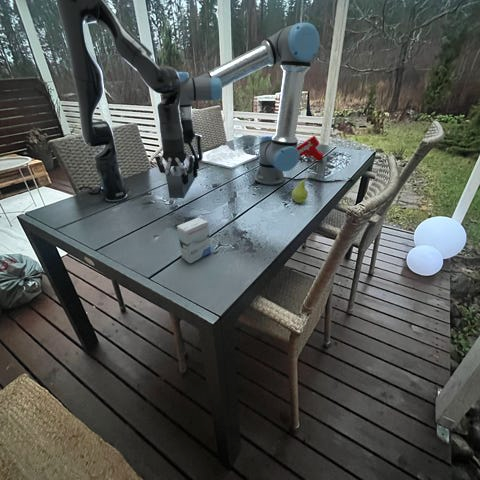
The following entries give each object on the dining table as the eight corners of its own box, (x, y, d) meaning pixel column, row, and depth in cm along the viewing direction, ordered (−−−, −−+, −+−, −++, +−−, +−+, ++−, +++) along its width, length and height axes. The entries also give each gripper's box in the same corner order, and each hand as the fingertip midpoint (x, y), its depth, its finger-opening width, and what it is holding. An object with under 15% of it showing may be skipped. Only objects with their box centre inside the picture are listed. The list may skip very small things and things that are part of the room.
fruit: (288, 200, 123) (290, 174, 116) (302, 197, 125) (305, 172, 119) (296, 206, 118) (299, 179, 111) (310, 203, 120) (314, 177, 114)
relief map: (231, 168, 161) (231, 160, 158) (189, 159, 179) (189, 151, 176) (257, 158, 179) (257, 150, 176) (217, 150, 197) (216, 142, 194)
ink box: (202, 246, 92) (199, 215, 85) (211, 252, 89) (209, 221, 82) (180, 257, 87) (176, 225, 80) (190, 264, 84) (185, 231, 77)
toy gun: (327, 155, 171) (314, 135, 167) (326, 157, 167) (314, 136, 164) (302, 170, 181) (290, 151, 177) (301, 172, 177) (288, 153, 174)
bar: (185, 174, 122) (183, 155, 117) (197, 174, 122) (195, 155, 117) (169, 198, 100) (166, 175, 95) (184, 198, 100) (181, 175, 95)
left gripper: (147, 138, 89) (156, 187, 99) (190, 139, 89) (195, 187, 98) (154, 133, 96) (162, 179, 105) (195, 134, 95) (199, 180, 104)
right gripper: (156, 120, 103) (165, 179, 115) (204, 120, 102) (209, 179, 114) (162, 117, 109) (170, 173, 121) (207, 117, 108) (211, 173, 120)
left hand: (178, 183), depth 101 cm, fingers closed on bar, 5 cm apart
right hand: (189, 176), depth 118 cm, fingers closed on bar, 5 cm apart
